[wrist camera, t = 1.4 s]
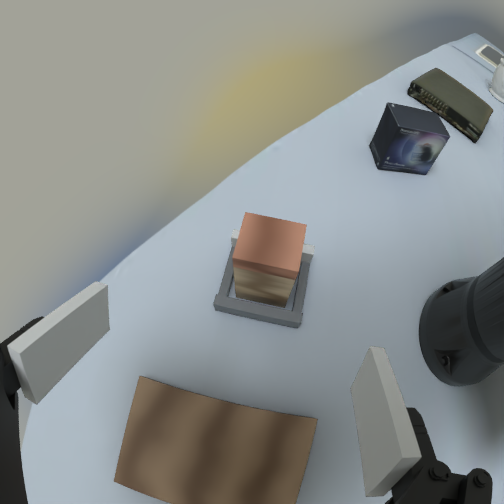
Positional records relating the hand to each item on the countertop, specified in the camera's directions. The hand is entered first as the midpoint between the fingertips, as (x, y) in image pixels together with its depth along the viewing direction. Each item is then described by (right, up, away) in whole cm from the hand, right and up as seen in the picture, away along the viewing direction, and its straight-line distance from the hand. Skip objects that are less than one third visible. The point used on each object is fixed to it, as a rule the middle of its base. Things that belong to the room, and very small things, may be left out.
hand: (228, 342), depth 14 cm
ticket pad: (+3, 0, +24) cm, 24 cm away
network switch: (+54, +42, +47) cm, 83 cm away
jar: (+89, +60, +56) cm, 121 cm away
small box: (+27, +21, +35) cm, 49 cm away
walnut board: (-3, -19, +14) cm, 24 cm away
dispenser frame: (+3, 0, +24) cm, 24 cm away
